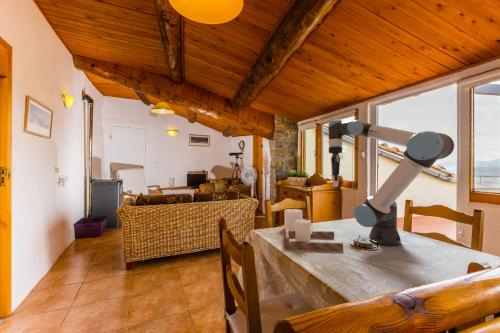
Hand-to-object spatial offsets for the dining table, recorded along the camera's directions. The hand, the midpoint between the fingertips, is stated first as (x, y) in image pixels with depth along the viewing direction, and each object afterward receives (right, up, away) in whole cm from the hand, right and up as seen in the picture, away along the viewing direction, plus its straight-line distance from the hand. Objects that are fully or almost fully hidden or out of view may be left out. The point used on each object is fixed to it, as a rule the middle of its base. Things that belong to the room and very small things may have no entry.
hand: (335, 186), depth 141 cm
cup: (-22, -30, +16) cm, 40 cm away
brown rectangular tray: (-17, -30, -11) cm, 36 cm away
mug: (-20, -30, -11) cm, 38 cm away
